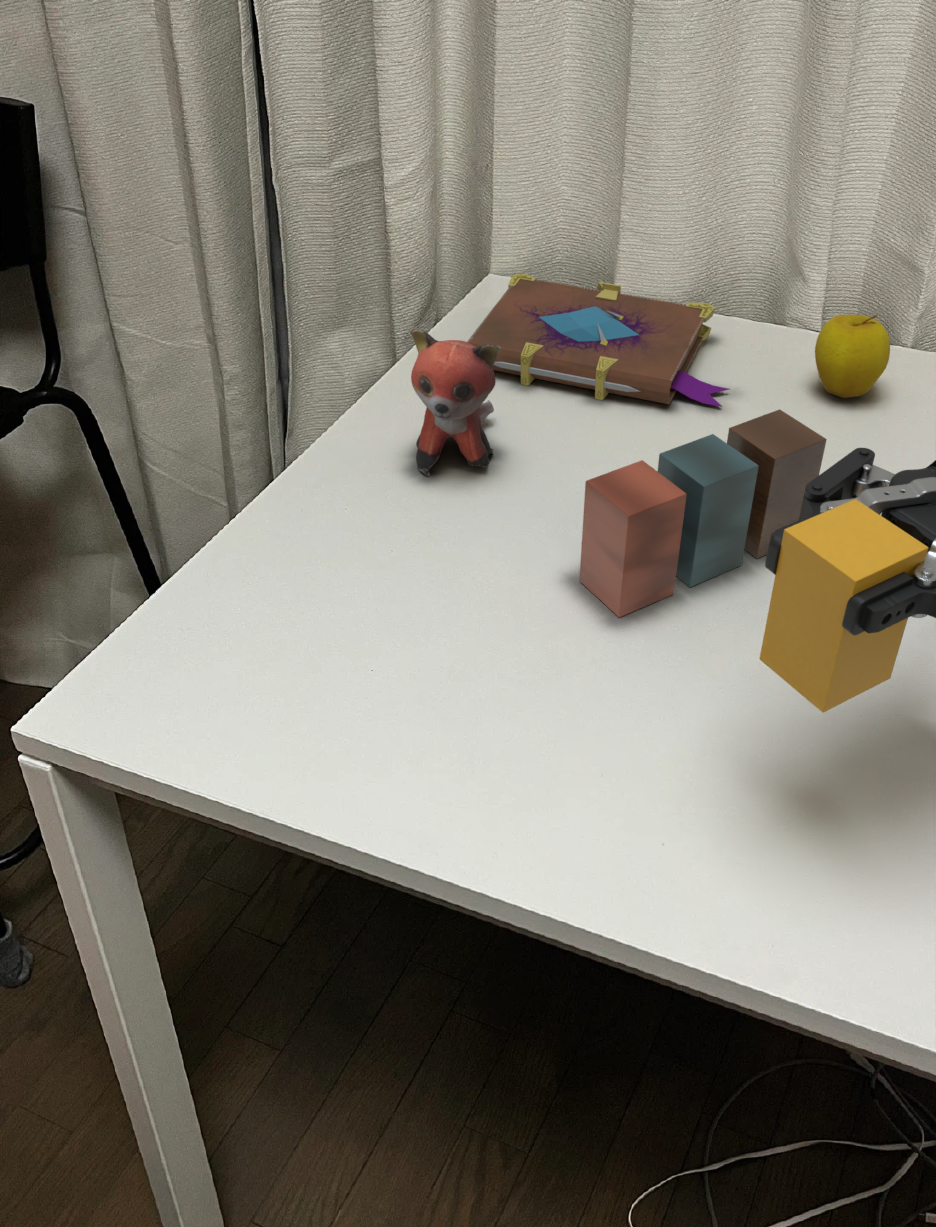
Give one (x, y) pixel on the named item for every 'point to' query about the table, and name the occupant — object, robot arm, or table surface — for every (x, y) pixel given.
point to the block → (834, 603)
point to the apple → (851, 354)
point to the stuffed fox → (453, 397)
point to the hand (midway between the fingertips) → (810, 586)
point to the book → (598, 339)
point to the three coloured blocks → (694, 510)
